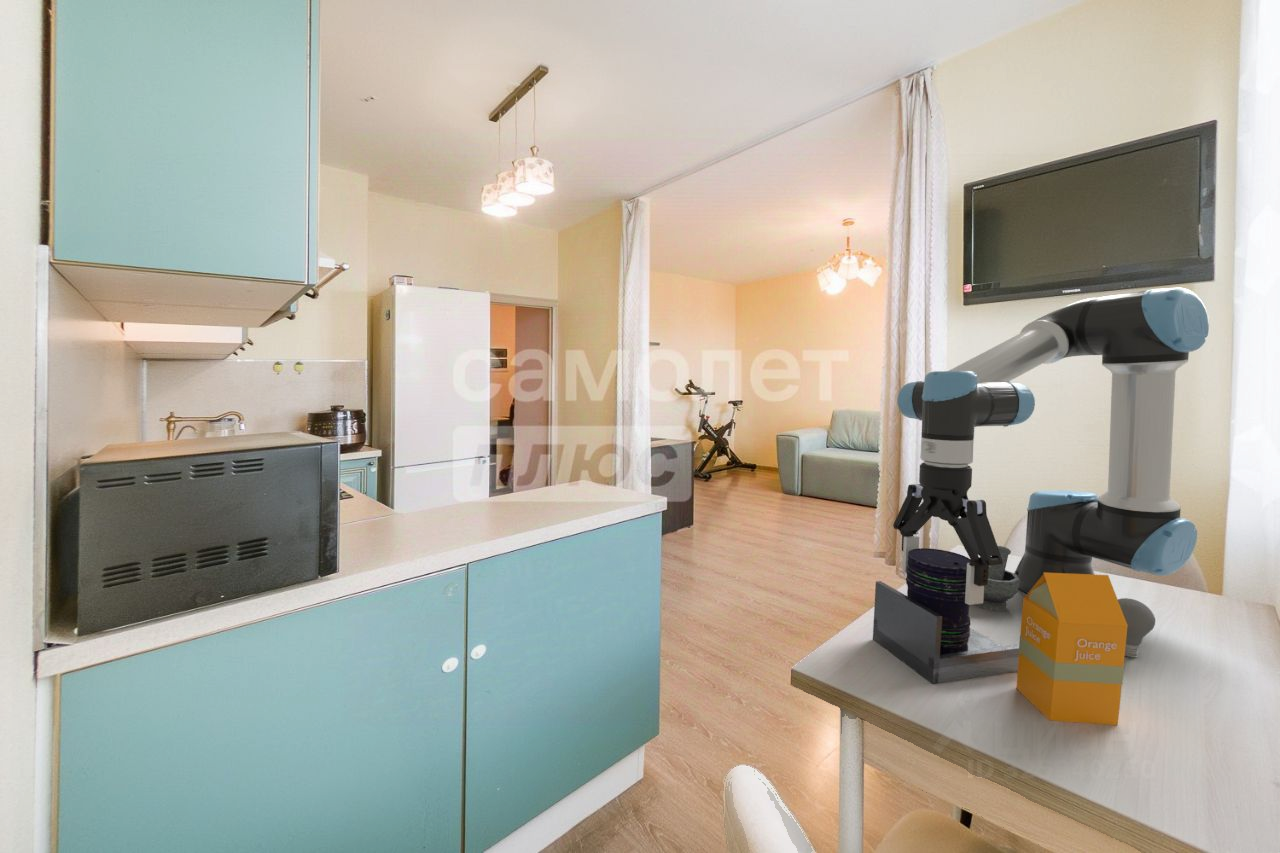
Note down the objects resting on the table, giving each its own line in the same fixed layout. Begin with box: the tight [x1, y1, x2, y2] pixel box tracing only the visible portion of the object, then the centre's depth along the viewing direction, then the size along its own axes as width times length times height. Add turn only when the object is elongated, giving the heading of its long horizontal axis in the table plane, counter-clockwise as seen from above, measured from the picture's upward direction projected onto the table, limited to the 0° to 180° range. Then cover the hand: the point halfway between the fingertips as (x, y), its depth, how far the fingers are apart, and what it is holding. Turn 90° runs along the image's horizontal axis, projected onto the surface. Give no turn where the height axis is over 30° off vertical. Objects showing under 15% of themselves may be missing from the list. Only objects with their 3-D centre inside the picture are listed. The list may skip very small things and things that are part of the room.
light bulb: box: [1117, 597, 1156, 658], centre depth 87 cm, size 6×6×10 cm
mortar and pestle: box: [974, 545, 1020, 612], centre depth 107 cm, size 11×9×12 cm
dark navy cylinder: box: [905, 547, 972, 655], centre depth 86 cm, size 10×10×15 cm
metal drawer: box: [872, 580, 1019, 685], centre depth 87 cm, size 17×14×11 cm
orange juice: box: [1015, 572, 1128, 726], centre depth 73 cm, size 8×9×20 cm
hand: (939, 586), depth 86 cm, fingers open, 13 cm apart
